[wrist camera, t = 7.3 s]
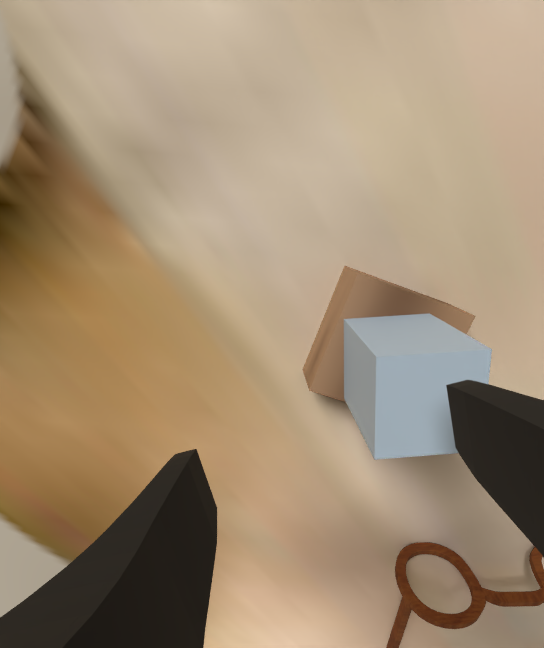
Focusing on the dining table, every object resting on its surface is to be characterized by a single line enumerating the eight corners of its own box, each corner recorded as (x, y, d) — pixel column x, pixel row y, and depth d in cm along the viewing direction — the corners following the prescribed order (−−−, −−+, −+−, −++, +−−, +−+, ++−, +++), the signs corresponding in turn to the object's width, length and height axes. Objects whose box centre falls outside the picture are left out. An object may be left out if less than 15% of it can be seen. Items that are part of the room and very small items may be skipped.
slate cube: (429, 313, 19) (492, 349, 14) (425, 392, 20) (481, 451, 15) (343, 318, 18) (376, 357, 14) (344, 398, 20) (374, 459, 15)
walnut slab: (445, 302, 22) (475, 316, 19) (399, 399, 23) (420, 425, 20) (343, 264, 21) (358, 273, 18) (302, 367, 22) (309, 390, 19)
